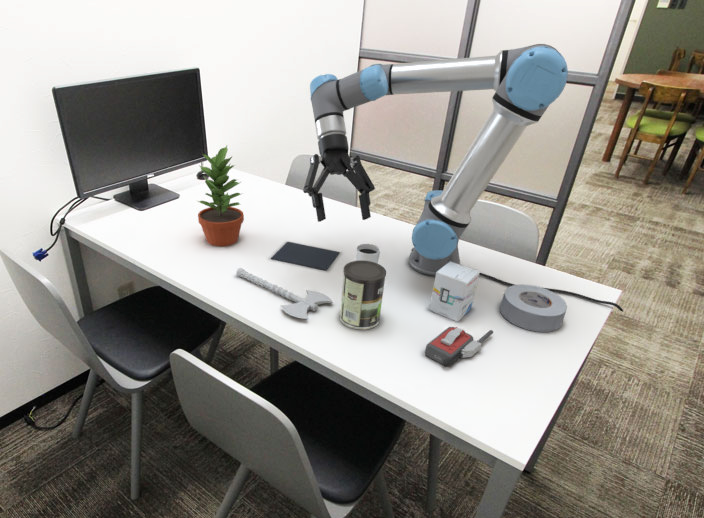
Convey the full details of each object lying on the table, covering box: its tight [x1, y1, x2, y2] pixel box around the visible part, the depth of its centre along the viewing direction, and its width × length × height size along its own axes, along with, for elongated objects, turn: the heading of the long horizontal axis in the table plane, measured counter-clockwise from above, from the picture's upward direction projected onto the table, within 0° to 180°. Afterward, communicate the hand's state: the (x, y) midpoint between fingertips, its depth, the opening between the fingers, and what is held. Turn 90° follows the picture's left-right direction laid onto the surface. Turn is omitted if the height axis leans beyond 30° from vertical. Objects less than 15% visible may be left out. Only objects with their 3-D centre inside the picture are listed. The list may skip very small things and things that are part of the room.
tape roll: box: [499, 284, 568, 333], centre depth 129 cm, size 15×15×5 cm
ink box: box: [428, 261, 481, 323], centre depth 129 cm, size 8×8×12 cm
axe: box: [235, 267, 334, 320], centre depth 135 cm, size 30×14×2 cm, turn 50°
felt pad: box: [270, 241, 341, 272], centre depth 155 cm, size 18×13×1 cm
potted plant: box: [197, 145, 245, 247], centre depth 155 cm, size 15×15×30 cm
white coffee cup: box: [355, 243, 381, 264], centre depth 141 cm, size 7×7×10 cm
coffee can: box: [339, 260, 387, 331], centre depth 123 cm, size 10×10×14 cm
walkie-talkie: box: [424, 326, 494, 367], centre depth 117 cm, size 9×4×20 cm
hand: (344, 219), depth 126 cm, fingers open, 13 cm apart
